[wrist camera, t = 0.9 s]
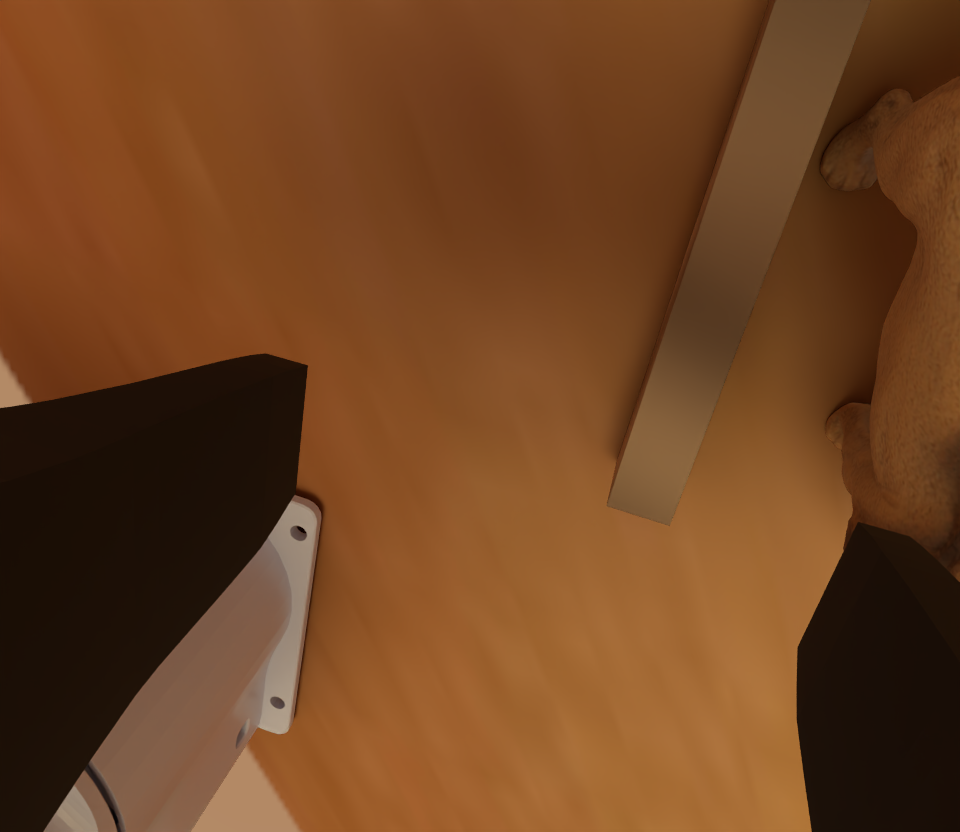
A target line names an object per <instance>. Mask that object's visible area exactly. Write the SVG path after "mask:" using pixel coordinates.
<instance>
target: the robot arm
mask: <svg viewBox="0 0 960 832" xmlns="http://www.w3.org/2000/svg"><path fill="white" fill-rule="evenodd" d="M307 368H308V365H304V364H301V363H297V362H294V361H290V360H287V359H283V358H280V357H276V356H273V355H269V354H257V355H249V356H244V357H239V358H234V359H229V360H225V361H220V362H216V363H212V364H208V365H204V366H200V367H196V368H192V369H188V370H184V371H180V372H175V373H171V374H167V375H163V376H159V377H155V378H151V379H147V380H143V381H139V382H135V383H131V384H126V385H121V386H116V387H112V388H107V389H102V390H98V391H93V392H88V393H83V394H79V395H74V396H69V397H64V398H60V399H55V400H49V401H43V402H38V403H32V404H25V405H19V406H13V407H5V408H0V832H191V830H192V829H193V827H194V826H195V824H196V823H197V821H198V819H199V818H200V816H201V814H202V813H203V812H204V810H205V809H206V807H207V805H208V804H209V802H210V800H211V799H212V798H213V796H214V795H215V793H216V791H217V790H218V788H219V787H220V785H221V784H222V782H223V781H224V779H225V777H226V776H227V774H228V773H229V771H230V770H231V768H232V767H233V765H234V763H235V762H236V760H237V759H238V757H239V756H240V754H241V752H242V751H243V749H244V748H245V746H246V745H247V743H248V742H249V740H250V738H251V737H252V735H253V734H254V732H255V731H256V729H257V728H258V727H259V728H261V729H264V730H267V731H270V732H272V733H276V734H284V733H286V732H287V731H288V730H289V728H290V727H291V725H292V723H293V719H294V712H295V705H296V697H297V690H298V683H299V676H300V669H301V661H302V654H303V647H304V640H305V633H306V626H307V618H308V611H309V604H310V597H311V590H312V582H313V575H314V568H315V561H316V554H317V546H318V539H319V532H320V525H321V512H320V510H319V508H318V506H317V505H316V504H315V503H314V502H312V501H310V500H308V499H305V498H302V497H299V496H296V495H295V493H296V484H297V473H298V463H299V452H300V442H301V431H302V421H303V410H304V400H305V389H306V378H307ZM297 526H300V527H302V528H304V530H305V531H306V533H307V534H305V533H302V532H300V531H299V530H298V528H297ZM278 697H279V698H278ZM280 698H281V699H282V700H281V699H280ZM797 725H798V734H799V742H800V749H801V757H802V764H803V772H804V779H805V786H806V793H807V801H808V808H809V815H810V822H811V829H812V832H960V582H959V581H958V580H957V579H956V578H955V577H954V576H953V575H952V574H951V573H950V572H949V571H948V570H947V569H946V568H945V567H944V566H943V565H942V564H941V563H940V562H939V561H938V560H937V559H936V558H935V557H933V556H932V555H931V554H930V553H929V552H928V551H927V550H926V549H925V548H924V547H922V546H921V545H920V544H919V543H918V542H916V541H915V540H914V539H913V538H911V537H910V536H907V535H903V534H900V533H896V532H893V531H889V530H886V529H882V528H879V527H875V526H872V525H868V524H864V523H861V522H858V523H857V525H856V527H855V529H854V531H853V533H852V535H851V537H850V539H849V541H848V544H847V546H846V548H845V550H844V552H843V554H842V556H841V558H840V560H839V562H838V564H837V566H836V569H835V571H834V573H833V575H832V577H831V579H830V581H829V583H828V585H827V587H826V589H825V591H824V594H823V596H822V598H821V600H820V602H819V604H818V606H817V608H816V610H815V612H814V614H813V616H812V619H811V621H810V623H809V625H808V627H807V629H806V631H805V633H804V635H803V637H802V639H801V641H800V644H799V646H798V654H797Z"/></svg>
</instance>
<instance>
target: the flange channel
mask: <svg viewBox="0 0 960 832" xmlns="http://www.w3.org/2000/svg"><path fill="white" fill-rule="evenodd" d="M870 1H871V0H769V3H768V6H767V9H766V12H765V15H764V18H763V21H762V24H761V27H760V30H759V33H758V36H757V39H756V42H755V45H754V48H753V51H752V54H751V57H750V60H749V63H748V66H747V69H746V72H745V75H744V78H743V81H742V84H741V87H740V90H739V93H738V96H737V99H736V102H735V106H734V109H733V112H732V115H731V118H730V121H729V124H728V127H727V130H726V133H725V136H724V139H723V142H722V145H721V148H720V151H719V154H718V157H717V160H716V163H715V166H714V169H713V172H712V175H711V178H710V181H709V184H708V187H707V190H706V193H705V196H704V199H703V202H702V205H701V208H700V211H699V214H698V217H697V220H696V223H695V226H694V229H693V232H692V235H691V238H690V241H689V245H688V248H687V251H686V254H685V257H684V260H683V263H682V266H681V269H680V272H679V275H678V278H677V281H676V284H675V287H674V290H673V293H672V296H671V299H670V302H669V305H668V308H667V311H666V314H665V317H664V320H663V323H662V326H661V329H660V332H659V335H658V338H657V341H656V344H655V347H654V350H653V353H652V356H651V359H650V362H649V365H648V368H647V371H646V374H645V377H644V380H643V384H642V387H641V390H640V393H639V396H638V399H637V402H636V405H635V408H634V411H633V414H632V417H631V420H630V423H629V426H628V429H627V432H626V435H625V438H624V441H623V444H622V447H621V450H620V453H619V456H618V459H617V462H616V467H615V471H614V475H613V480H612V484H611V489H610V493H609V498H608V502H607V506H608V507H611V508H614V509H618V510H621V511H624V512H627V513H630V514H634V515H637V516H640V517H643V518H646V519H649V520H653V521H656V522H659V523H662V524H665V525H668V526H670V524H671V521H672V518H673V516H674V513H675V511H676V508H677V505H678V503H679V500H680V498H681V495H682V492H683V490H684V487H685V484H686V482H687V479H688V477H689V474H690V471H691V469H692V466H693V464H694V461H695V458H696V456H697V453H698V450H699V448H700V445H701V443H702V440H703V437H704V435H705V432H706V430H707V427H708V424H709V422H710V419H711V417H712V414H713V411H714V409H715V406H716V403H717V401H718V398H719V396H720V393H721V390H722V388H723V385H724V383H725V380H726V377H727V375H728V372H729V369H730V367H731V364H732V362H733V359H734V356H735V354H736V351H737V349H738V346H739V343H740V341H741V338H742V336H743V333H744V330H745V328H746V325H747V322H748V320H749V317H750V315H751V312H752V309H753V307H754V304H755V302H756V299H757V296H758V294H759V291H760V289H761V286H762V283H763V281H764V278H765V275H766V273H767V270H768V268H769V265H770V262H771V260H772V257H773V255H774V252H775V249H776V247H777V244H778V241H779V239H780V236H781V234H782V231H783V228H784V226H785V223H786V221H787V218H788V215H789V213H790V210H791V208H792V205H793V202H794V200H795V197H796V194H797V192H798V189H799V187H800V184H801V181H802V179H803V176H804V174H805V171H806V168H807V166H808V163H809V161H810V158H811V155H812V153H813V150H814V147H815V145H816V142H817V140H818V137H819V134H820V132H821V129H822V127H823V124H824V121H825V119H826V116H827V113H828V111H829V108H830V106H831V103H832V100H833V98H834V95H835V93H836V90H837V87H838V85H839V82H840V80H841V77H842V74H843V72H844V69H845V66H846V64H847V61H848V59H849V56H850V53H851V51H852V48H853V46H854V43H855V40H856V38H857V35H858V32H859V30H860V27H861V25H862V22H863V19H864V17H865V14H866V12H867V9H868V6H869V4H870Z"/></svg>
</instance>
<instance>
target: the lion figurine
mask: <svg viewBox="0 0 960 832" xmlns="http://www.w3.org/2000/svg"><path fill="white" fill-rule="evenodd" d="M820 172H821V175H822V176H823V178H824V179H825V181H826V182H827V183H828V185H829V186H830V187H832V188H834V189H838V190H843V191H851V190H862V189H867V188H869V187H871V186H872V185H873V183H874V182H875V181H876V179H877V178H878V182H879V185H880V188H881V190H882V192H883V193H884V195H885V196H886V197H887V198H888V199H890V200H891V201H893V202H894V203H895V205H896V207H897V208H898V210H899V211H900V212H901V214H902V215H903V216H904V217H906V218H907V219H908V220H909V221H910V222H912V223H913V225H914V226H915V228H916V230H917V244H916V248H915V251H914V254H913V257H912V261H911V263H910V266H909V268H908V270H907V272H906V274H905V277H904V279H903V281H902V283H901V285H900V287H899V290H898V292H897V294H896V296H895V298H894V300H893V303H892V305H891V307H890V309H889V312H888V314H887V317H886V319H885V322H884V325H883V329H882V334H881V340H880V345H879V352H878V360H877V372H876V381H875V385H874V390H873V396H872V401H871V404H869V403H864V404H862V403H848V404H846V405H844V406H842V407H841V408H840V409H838V410H837V411H835V412H834V413H833V414H832V415H831V416H830V417H829V419H828V421H827V422H826V429H825V434H826V436H827V438H828V439H829V440H830V441H832V442H833V444H834V445H835V446H836V447H837V448H839V449H842V456H843V465H842V477H843V481H844V484H845V486H846V488H847V490H848V492H849V493H850V494H851V495H852V504H853V514H852V517H851V518H850V520H849V521H848V528H847V531H846V538H845V542H844V547H843V549H844V550H845V548H846V546H847V544H848V541H849V539H850V537H851V535H852V533H853V531H854V529H855V527H856V525H857V523H858V522H861V523H864V524H868V525H872V526H875V527H879V528H882V529H886V530H889V531H893V532H896V533H900V534H903V535H907V536H910V537H911V538H913V539H914V540H915V541H916V542H918V543H919V544H920V545H921V546H922V547H924V548H925V549H926V550H927V551H928V552H929V553H930V554H931V555H932V556H933V557H935V558H936V559H937V560H938V561H939V562H940V563H941V564H942V565H943V566H944V567H945V568H946V569H947V570H948V571H949V572H950V573H951V574H952V575H953V576H954V577H955V578H956V579H957V580H958V581H959V582H960V76H958V77H956V78H954V79H951V80H950V81H948V82H947V83H945V84H944V85H942V86H940V87H938V88H936V89H935V90H933V91H932V92H930V93H928V94H927V95H925V96H924V97H922V98H921V99H920V100H918V101H916V102H913V101H912V99H911V96H910V93H909V92H907V91H905V90H903V89H893V90H890V91H888V92H887V93H886V94H884V95H883V96H882V97H881V98H880V99H879V100H878V101H877V102H876V103H875V105H874V106H873V107H872V108H871V109H870V110H869V111H868V112H867V113H866V114H865V115H863V116H862V117H861V118H860V119H858V120H856V121H854V122H852V123H851V124H849V125H848V126H847V127H845V128H844V129H843V130H841V131H840V132H839V133H838V134H837V135H836V137H835V138H834V139H833V140H832V141H831V143H830V144H829V146H828V147H827V149H826V150H825V152H824V155H823V158H822V160H821V166H820Z"/></svg>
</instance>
